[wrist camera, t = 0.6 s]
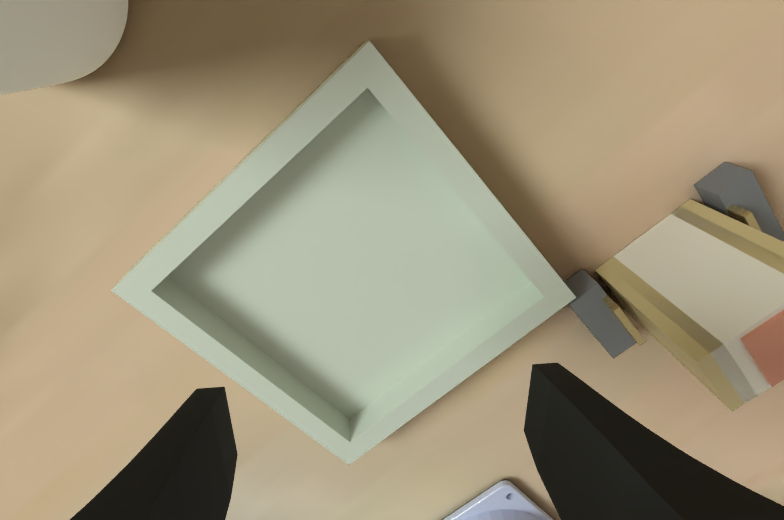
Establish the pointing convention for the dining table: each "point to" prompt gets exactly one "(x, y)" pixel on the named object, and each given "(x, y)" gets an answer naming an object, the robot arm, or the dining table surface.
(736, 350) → the carton
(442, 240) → the tray
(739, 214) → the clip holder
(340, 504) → the dining table surface
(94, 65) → the can
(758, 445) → the dining table surface
